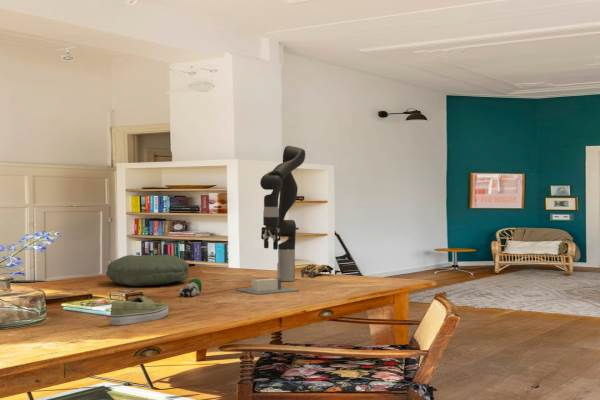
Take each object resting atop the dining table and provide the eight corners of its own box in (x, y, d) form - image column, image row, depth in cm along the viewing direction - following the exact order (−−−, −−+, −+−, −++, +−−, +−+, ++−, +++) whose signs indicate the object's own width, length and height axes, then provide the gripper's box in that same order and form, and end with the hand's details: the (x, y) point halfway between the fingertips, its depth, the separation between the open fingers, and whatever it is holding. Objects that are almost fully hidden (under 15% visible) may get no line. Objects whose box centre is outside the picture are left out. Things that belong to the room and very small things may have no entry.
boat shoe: (175, 316, 285) (176, 293, 285) (126, 327, 259) (126, 302, 259) (154, 313, 290) (154, 291, 289) (104, 325, 264) (104, 300, 264)
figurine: (323, 280, 413) (339, 272, 441) (322, 270, 412) (339, 262, 440) (291, 279, 420) (310, 271, 448) (291, 268, 419) (310, 261, 447)
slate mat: (235, 290, 361) (235, 289, 361) (276, 286, 375) (276, 285, 375) (257, 294, 345) (257, 293, 345) (299, 291, 359) (299, 290, 359)
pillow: (94, 283, 390) (131, 291, 359) (94, 255, 389) (132, 261, 359) (165, 277, 418) (205, 284, 387) (165, 251, 418) (205, 256, 387)
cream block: (257, 291, 353) (281, 289, 362) (257, 280, 353) (281, 279, 361) (251, 290, 357) (275, 288, 366) (251, 279, 357) (275, 278, 366)
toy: (194, 303, 335) (207, 291, 349) (192, 289, 333) (206, 277, 347) (177, 302, 338) (191, 290, 351) (175, 288, 336) (189, 276, 350)
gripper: (285, 216, 358) (285, 249, 359) (269, 215, 370) (269, 247, 370) (272, 216, 354) (272, 250, 354) (257, 215, 366) (256, 248, 366)
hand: (270, 248), depth 362 cm, fingers open, 8 cm apart
